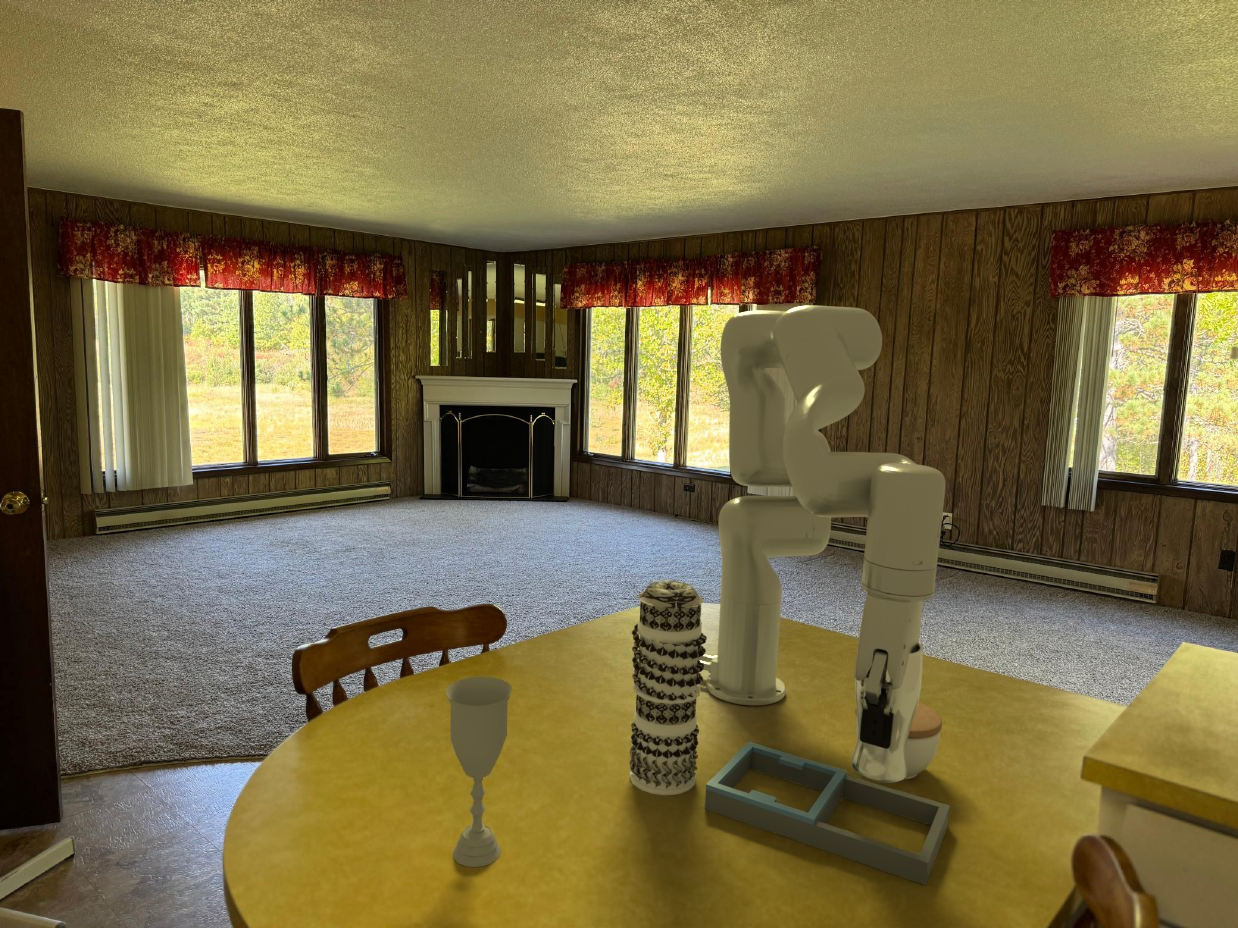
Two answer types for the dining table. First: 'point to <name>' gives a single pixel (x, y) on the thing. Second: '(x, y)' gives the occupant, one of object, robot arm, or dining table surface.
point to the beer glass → (905, 700)
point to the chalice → (478, 755)
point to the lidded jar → (921, 739)
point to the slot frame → (826, 810)
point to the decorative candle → (666, 688)
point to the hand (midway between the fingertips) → (882, 729)
